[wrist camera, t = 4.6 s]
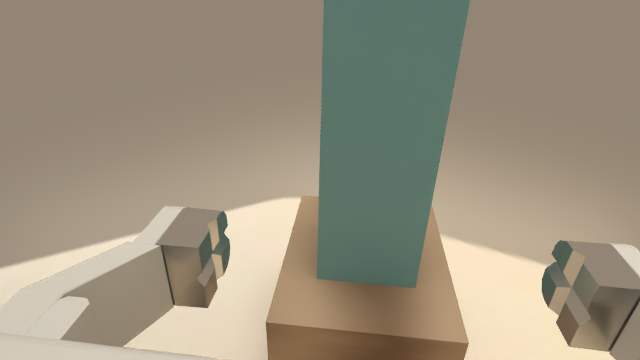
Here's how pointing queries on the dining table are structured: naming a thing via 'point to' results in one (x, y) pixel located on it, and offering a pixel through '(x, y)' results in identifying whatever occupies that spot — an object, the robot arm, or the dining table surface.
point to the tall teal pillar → (382, 132)
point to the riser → (362, 307)
